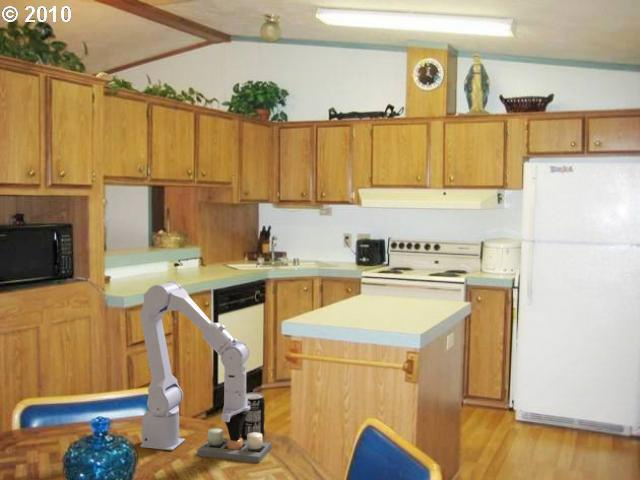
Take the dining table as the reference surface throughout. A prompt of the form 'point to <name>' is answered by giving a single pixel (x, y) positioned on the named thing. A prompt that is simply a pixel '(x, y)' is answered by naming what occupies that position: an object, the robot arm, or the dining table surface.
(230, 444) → the peach egg
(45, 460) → the dining table surface
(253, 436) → the cream rounded piece
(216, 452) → the board
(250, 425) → the beverage can
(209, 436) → the cap sage
